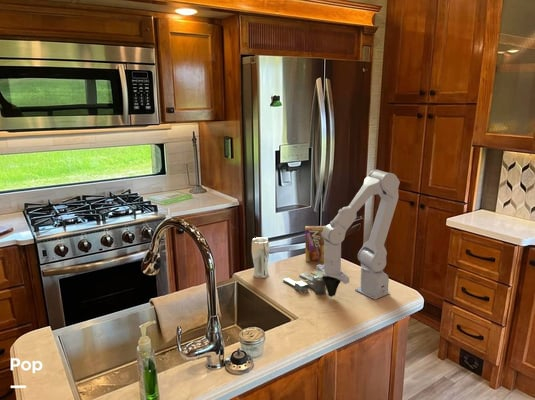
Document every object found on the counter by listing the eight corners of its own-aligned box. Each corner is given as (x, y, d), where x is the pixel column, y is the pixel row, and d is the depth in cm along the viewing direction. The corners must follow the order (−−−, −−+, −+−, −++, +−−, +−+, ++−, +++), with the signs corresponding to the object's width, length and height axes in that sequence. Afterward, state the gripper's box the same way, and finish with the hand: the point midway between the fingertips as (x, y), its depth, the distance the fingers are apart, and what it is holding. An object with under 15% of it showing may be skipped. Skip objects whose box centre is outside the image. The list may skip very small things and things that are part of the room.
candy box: (325, 258, 179) (325, 225, 175) (325, 262, 174) (326, 228, 171) (305, 258, 179) (305, 225, 176) (305, 261, 175) (305, 228, 172)
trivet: (337, 275, 161) (337, 274, 161) (324, 279, 157) (324, 278, 157) (324, 268, 167) (324, 268, 167) (311, 273, 163) (311, 272, 163)
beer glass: (249, 275, 163) (247, 240, 159) (262, 270, 167) (261, 236, 164) (259, 280, 158) (258, 244, 154) (273, 275, 162) (272, 240, 159)
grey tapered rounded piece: (327, 292, 146) (328, 279, 145) (319, 295, 144) (319, 282, 143) (310, 283, 154) (310, 271, 153) (302, 286, 152) (302, 273, 151)
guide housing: (325, 284, 153) (325, 278, 152) (301, 292, 146) (301, 286, 146) (305, 274, 162) (305, 268, 162) (282, 281, 156) (282, 275, 156)
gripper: (309, 255, 142) (309, 291, 145) (338, 268, 130) (338, 306, 133) (324, 251, 146) (324, 285, 149) (354, 263, 134) (353, 300, 137)
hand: (331, 295), depth 141 cm, fingers closed
